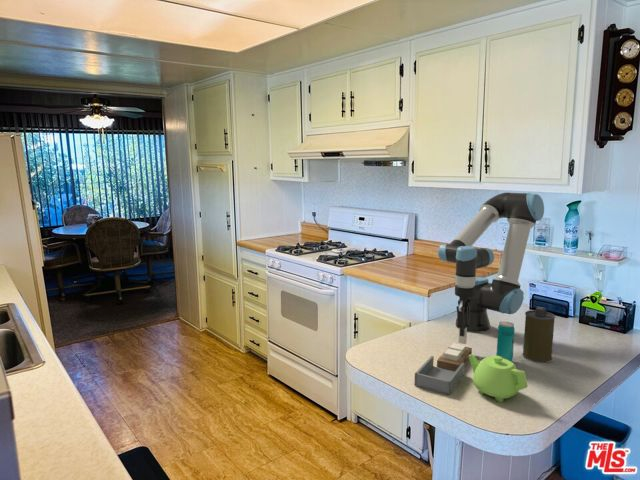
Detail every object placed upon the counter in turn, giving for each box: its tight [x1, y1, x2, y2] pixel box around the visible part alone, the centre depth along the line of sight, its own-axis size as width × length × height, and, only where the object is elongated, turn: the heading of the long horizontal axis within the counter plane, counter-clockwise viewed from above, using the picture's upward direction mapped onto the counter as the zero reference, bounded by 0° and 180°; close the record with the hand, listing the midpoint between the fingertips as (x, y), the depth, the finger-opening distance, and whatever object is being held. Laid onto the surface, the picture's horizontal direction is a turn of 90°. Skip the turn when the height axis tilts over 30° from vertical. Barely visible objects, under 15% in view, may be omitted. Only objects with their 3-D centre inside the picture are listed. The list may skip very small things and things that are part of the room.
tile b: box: [443, 348, 461, 361], centre depth 167 cm, size 5×5×2 cm
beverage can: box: [496, 321, 515, 362], centre depth 168 cm, size 6×6×15 cm
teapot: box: [468, 354, 529, 403], centre depth 145 cm, size 20×13×13 cm
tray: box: [414, 355, 465, 396], centre depth 155 cm, size 17×12×4 cm
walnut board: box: [436, 343, 473, 371], centre depth 170 cm, size 18×8×3 cm, turn 147°
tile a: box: [448, 342, 467, 355], centre depth 172 cm, size 5×5×2 cm
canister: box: [521, 305, 556, 363], centre depth 172 cm, size 11×10×20 cm
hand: (462, 342), depth 178 cm, fingers closed
